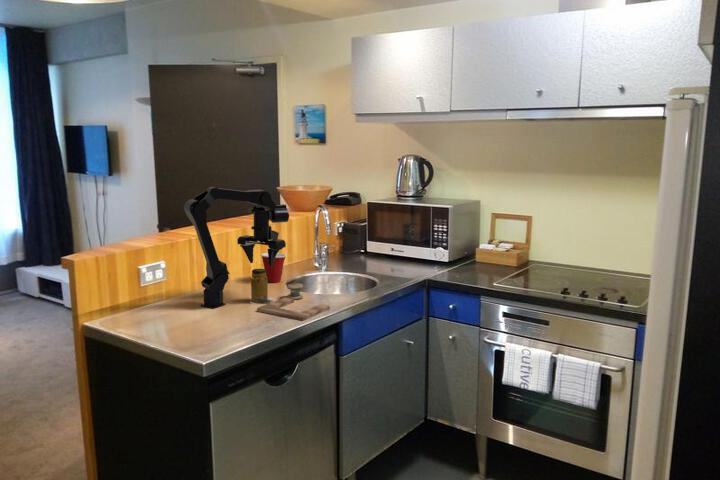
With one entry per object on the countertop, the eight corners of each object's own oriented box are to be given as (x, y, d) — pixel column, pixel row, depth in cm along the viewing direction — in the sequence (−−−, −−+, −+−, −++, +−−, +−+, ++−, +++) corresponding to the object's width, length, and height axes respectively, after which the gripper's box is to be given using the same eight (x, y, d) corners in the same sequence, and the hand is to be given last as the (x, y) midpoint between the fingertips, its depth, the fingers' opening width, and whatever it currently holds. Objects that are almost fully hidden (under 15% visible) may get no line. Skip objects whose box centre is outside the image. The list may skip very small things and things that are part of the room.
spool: (296, 301, 218) (296, 288, 217) (284, 298, 221) (283, 285, 220) (306, 297, 223) (306, 284, 223) (293, 295, 226) (293, 282, 226)
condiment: (251, 298, 221) (250, 267, 219) (273, 298, 222) (273, 267, 220) (249, 304, 214) (248, 272, 212) (272, 303, 215) (272, 272, 213)
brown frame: (303, 320, 195) (303, 317, 195) (257, 311, 205) (257, 307, 205) (329, 309, 209) (329, 305, 209) (285, 300, 219) (285, 297, 218)
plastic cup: (292, 280, 249) (291, 253, 247) (276, 285, 240) (275, 257, 238) (272, 277, 255) (271, 250, 253) (255, 282, 246) (255, 254, 243)
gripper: (294, 223, 220) (293, 263, 223) (254, 219, 229) (254, 258, 231) (276, 226, 210) (276, 269, 213) (236, 222, 219) (236, 262, 221)
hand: (261, 264), depth 220 cm, fingers open, 9 cm apart
